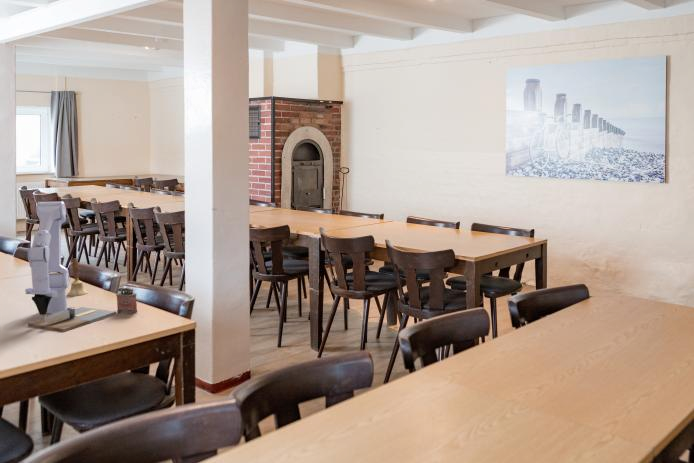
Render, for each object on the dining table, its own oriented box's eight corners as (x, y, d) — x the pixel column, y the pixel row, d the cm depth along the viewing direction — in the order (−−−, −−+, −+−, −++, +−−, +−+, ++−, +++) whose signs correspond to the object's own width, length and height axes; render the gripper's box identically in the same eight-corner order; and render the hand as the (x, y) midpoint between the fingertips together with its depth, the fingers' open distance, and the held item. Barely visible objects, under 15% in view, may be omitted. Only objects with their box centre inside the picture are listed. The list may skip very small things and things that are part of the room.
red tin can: (138, 311, 275) (137, 286, 273) (135, 313, 271) (134, 288, 270) (119, 310, 276) (117, 286, 274) (115, 313, 272) (114, 288, 271)
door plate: (54, 318, 266) (54, 315, 266) (82, 309, 278) (81, 306, 278) (89, 323, 258) (89, 320, 258) (116, 314, 271) (116, 311, 271)
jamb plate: (28, 326, 255) (28, 323, 255) (54, 318, 266) (54, 315, 266) (64, 331, 247) (64, 329, 247) (89, 323, 258) (89, 320, 258)
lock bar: (71, 315, 264) (70, 307, 263) (76, 316, 262) (76, 307, 262) (44, 324, 252) (43, 315, 252) (49, 325, 251) (48, 316, 250)
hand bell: (83, 296, 302) (80, 260, 299) (64, 296, 302) (61, 260, 299) (90, 291, 310) (88, 256, 308) (72, 291, 310) (69, 256, 308)
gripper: (17, 279, 254) (20, 315, 256) (45, 282, 248) (48, 319, 250) (33, 275, 260) (35, 310, 262) (61, 278, 254) (63, 314, 256)
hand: (43, 314), depth 256 cm, fingers closed
